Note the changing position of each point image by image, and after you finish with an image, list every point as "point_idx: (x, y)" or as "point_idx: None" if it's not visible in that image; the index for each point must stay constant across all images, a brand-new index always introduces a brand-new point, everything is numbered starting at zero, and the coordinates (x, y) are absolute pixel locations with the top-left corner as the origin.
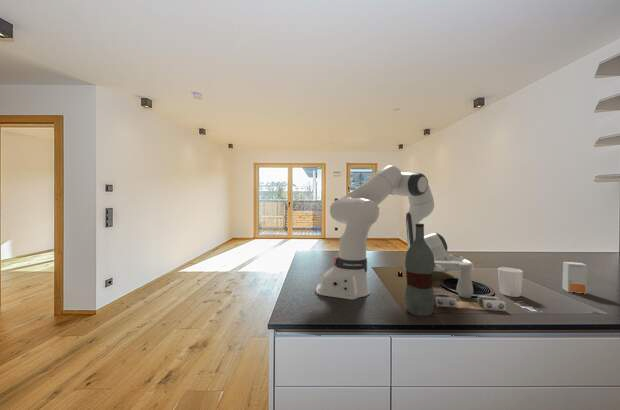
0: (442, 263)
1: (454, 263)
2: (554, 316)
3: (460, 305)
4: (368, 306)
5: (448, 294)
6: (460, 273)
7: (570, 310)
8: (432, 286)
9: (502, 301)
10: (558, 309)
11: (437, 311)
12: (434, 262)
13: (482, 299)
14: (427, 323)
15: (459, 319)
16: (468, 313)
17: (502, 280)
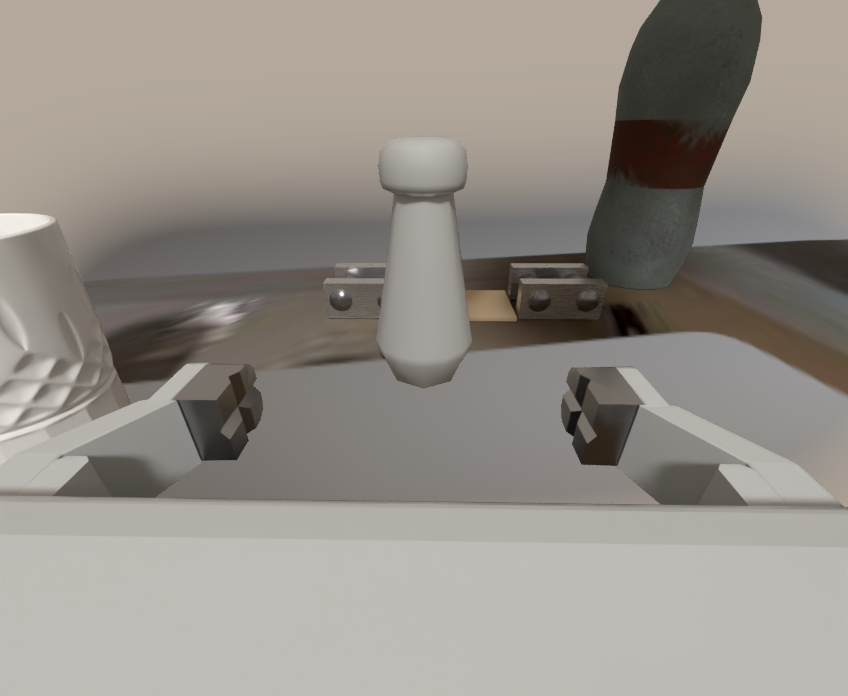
0: (641, 506)
1: (246, 503)
2: (206, 288)
3: (488, 297)
4: (797, 278)
5: (535, 281)
6: (456, 222)
7: None
8: (606, 181)
9: (341, 265)
10: (100, 317)
11: None
12: (622, 76)
13: None
14: None
15: None
16: (477, 279)
17: (91, 315)
